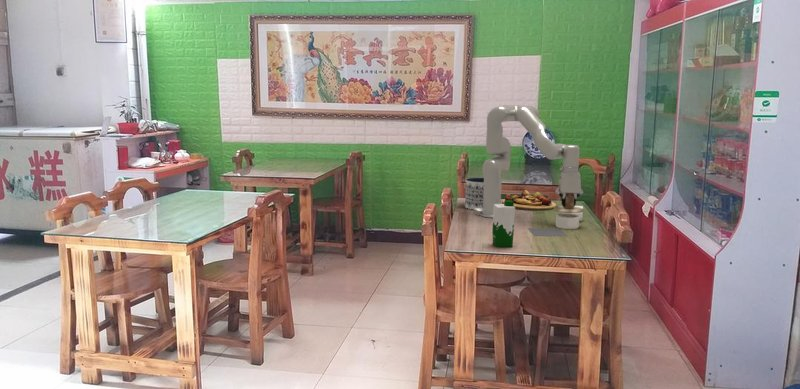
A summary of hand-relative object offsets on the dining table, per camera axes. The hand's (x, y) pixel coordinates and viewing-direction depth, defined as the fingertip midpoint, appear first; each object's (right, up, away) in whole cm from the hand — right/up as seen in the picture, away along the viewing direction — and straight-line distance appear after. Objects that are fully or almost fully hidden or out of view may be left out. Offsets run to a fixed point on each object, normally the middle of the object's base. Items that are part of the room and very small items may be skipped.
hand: (568, 205), depth 315 cm
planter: (-38, -2, +50) cm, 62 cm away
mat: (-13, -13, -11) cm, 21 cm away
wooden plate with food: (-8, -1, +60) cm, 60 cm away
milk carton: (-39, -17, -36) cm, 56 cm away
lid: (0, -2, 0) cm, 2 cm away
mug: (+8, -8, +21) cm, 24 cm away
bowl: (0, -11, +2) cm, 11 cm away
